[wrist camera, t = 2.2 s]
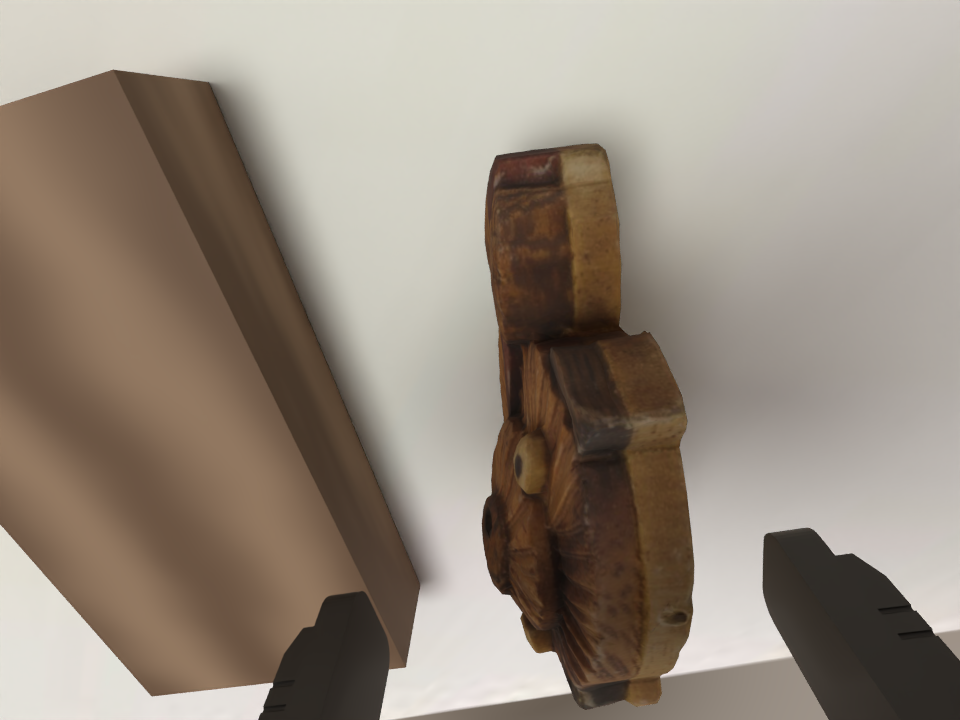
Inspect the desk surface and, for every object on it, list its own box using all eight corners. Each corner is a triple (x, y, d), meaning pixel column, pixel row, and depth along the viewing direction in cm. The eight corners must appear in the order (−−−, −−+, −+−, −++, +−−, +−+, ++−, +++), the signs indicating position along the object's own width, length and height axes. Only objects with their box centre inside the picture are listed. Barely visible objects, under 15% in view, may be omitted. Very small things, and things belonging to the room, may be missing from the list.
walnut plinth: (208, 82, 15) (112, 69, 11) (420, 585, 24) (405, 667, 20) (-114, 181, 16) (-287, 198, 13) (201, 615, 25) (151, 696, 22)
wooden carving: (436, 160, 15) (343, 215, 6) (582, 128, 15) (705, 140, 6) (520, 540, 22) (533, 821, 13) (622, 528, 22) (706, 813, 13)
